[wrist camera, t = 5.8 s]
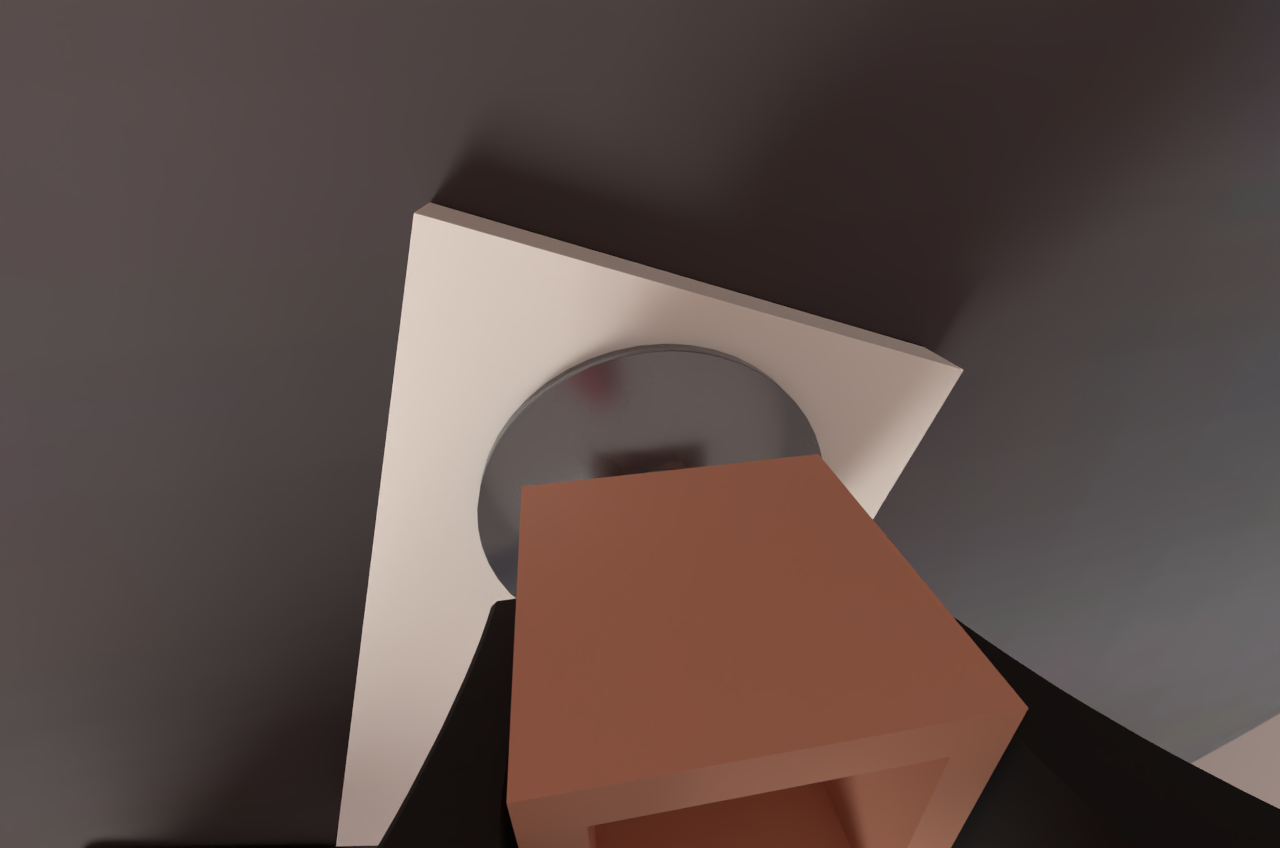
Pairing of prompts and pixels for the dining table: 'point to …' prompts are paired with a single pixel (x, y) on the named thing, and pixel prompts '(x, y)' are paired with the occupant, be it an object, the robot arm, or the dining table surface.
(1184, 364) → the dining table surface
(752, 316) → the board
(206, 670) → the dining table surface
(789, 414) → the disc
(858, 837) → the collar
